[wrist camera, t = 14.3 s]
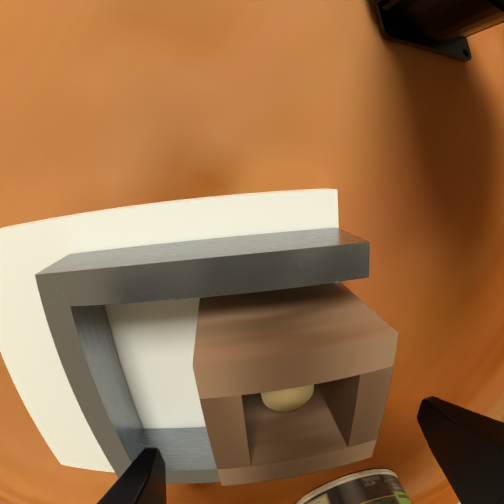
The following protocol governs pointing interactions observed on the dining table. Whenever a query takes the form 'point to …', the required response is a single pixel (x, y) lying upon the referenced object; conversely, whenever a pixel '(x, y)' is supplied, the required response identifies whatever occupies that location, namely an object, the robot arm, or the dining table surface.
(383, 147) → the dining table surface
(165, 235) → the base board
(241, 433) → the hollow wooden box
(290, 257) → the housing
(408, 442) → the dining table surface
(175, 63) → the dining table surface
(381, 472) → the coffee can
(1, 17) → the dining table surface
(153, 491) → the robot arm
